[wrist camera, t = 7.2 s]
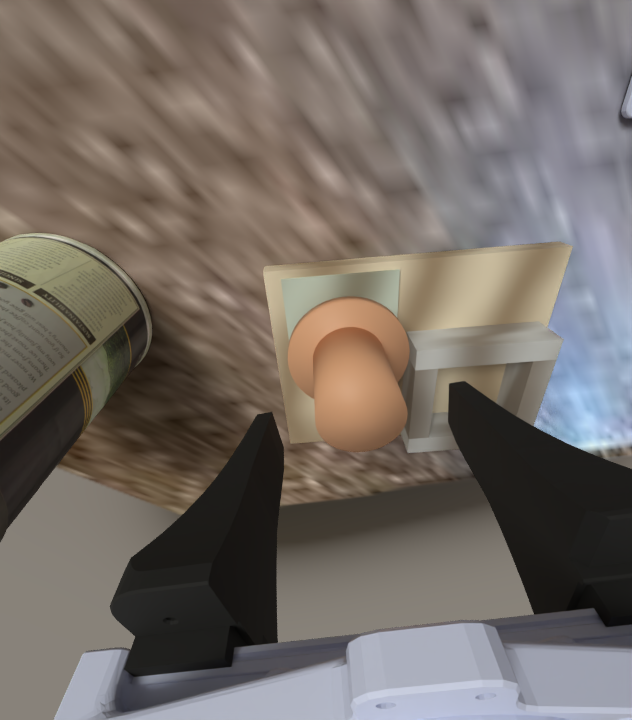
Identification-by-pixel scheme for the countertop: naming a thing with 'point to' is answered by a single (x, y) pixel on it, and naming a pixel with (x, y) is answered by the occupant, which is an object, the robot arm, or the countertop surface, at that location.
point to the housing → (437, 327)
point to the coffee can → (58, 353)
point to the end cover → (352, 371)
